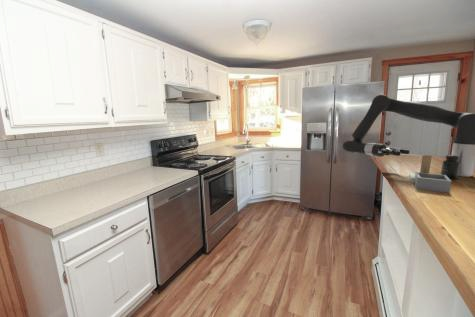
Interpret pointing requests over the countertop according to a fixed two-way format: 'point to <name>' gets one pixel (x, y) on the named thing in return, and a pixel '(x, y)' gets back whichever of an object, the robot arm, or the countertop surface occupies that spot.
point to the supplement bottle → (450, 167)
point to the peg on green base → (423, 166)
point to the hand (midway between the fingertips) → (404, 153)
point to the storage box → (432, 182)
